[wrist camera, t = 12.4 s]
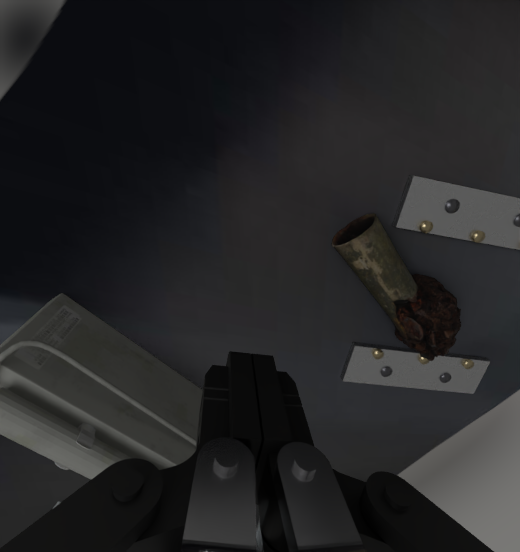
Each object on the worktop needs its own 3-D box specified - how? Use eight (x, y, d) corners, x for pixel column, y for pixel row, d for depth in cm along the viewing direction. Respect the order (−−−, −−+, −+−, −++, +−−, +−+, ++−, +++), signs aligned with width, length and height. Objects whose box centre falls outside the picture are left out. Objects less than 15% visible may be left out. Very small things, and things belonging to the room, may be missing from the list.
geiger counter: (-86, 427, 20) (213, 566, 28) (-31, 363, 19) (265, 528, 27) (35, 317, 33) (217, 434, 41) (73, 274, 32) (253, 404, 40)
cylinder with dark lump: (325, 238, 33) (344, 255, 28) (380, 196, 32) (410, 205, 27) (404, 349, 39) (431, 379, 34) (452, 316, 38) (488, 343, 33)
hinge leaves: (409, 175, 31) (415, 176, 30) (563, 207, 34) (574, 209, 33) (340, 376, 40) (343, 383, 39) (469, 389, 43) (475, 396, 42)
